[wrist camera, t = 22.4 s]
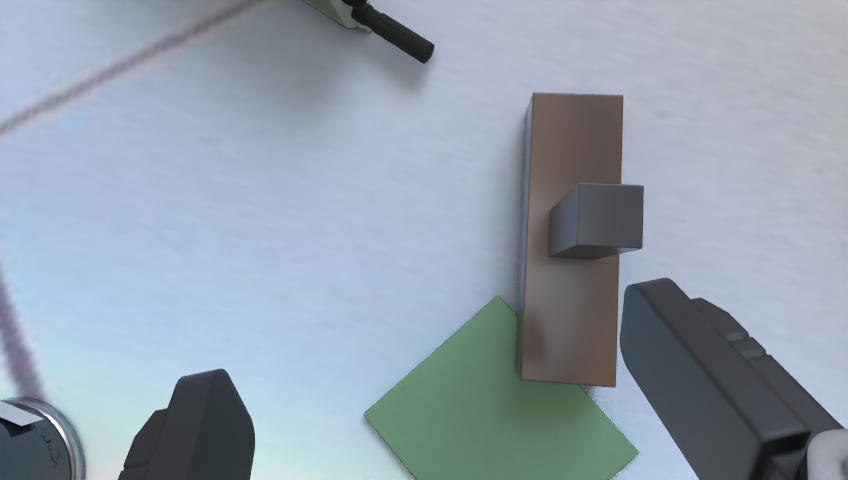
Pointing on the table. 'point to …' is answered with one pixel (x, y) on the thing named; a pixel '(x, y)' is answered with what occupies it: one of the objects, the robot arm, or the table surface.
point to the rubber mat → (494, 415)
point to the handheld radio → (375, 25)
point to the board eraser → (573, 239)
